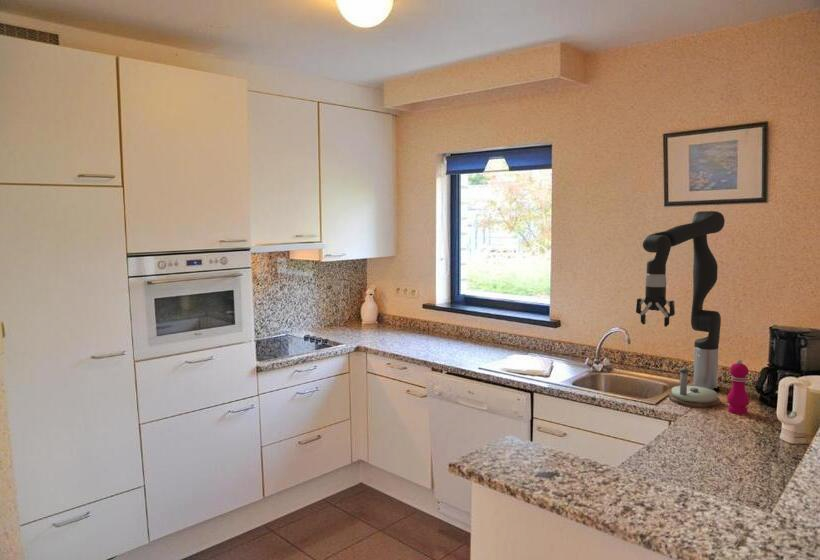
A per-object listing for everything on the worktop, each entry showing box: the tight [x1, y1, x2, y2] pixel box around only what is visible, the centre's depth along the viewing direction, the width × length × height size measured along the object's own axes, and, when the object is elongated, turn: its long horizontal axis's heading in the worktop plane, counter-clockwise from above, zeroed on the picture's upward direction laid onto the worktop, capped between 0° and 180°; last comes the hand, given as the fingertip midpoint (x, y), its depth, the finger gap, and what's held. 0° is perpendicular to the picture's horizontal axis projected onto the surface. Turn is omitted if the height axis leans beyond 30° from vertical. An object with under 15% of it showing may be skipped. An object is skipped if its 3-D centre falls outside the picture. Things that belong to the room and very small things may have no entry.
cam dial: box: [671, 368, 718, 403], centre depth 232 cm, size 16×16×12 cm
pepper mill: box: [726, 359, 750, 415], centre depth 218 cm, size 7×7×20 cm
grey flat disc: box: [668, 391, 720, 409], centre depth 233 cm, size 18×18×2 cm
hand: (654, 325), depth 234 cm, fingers open, 8 cm apart
